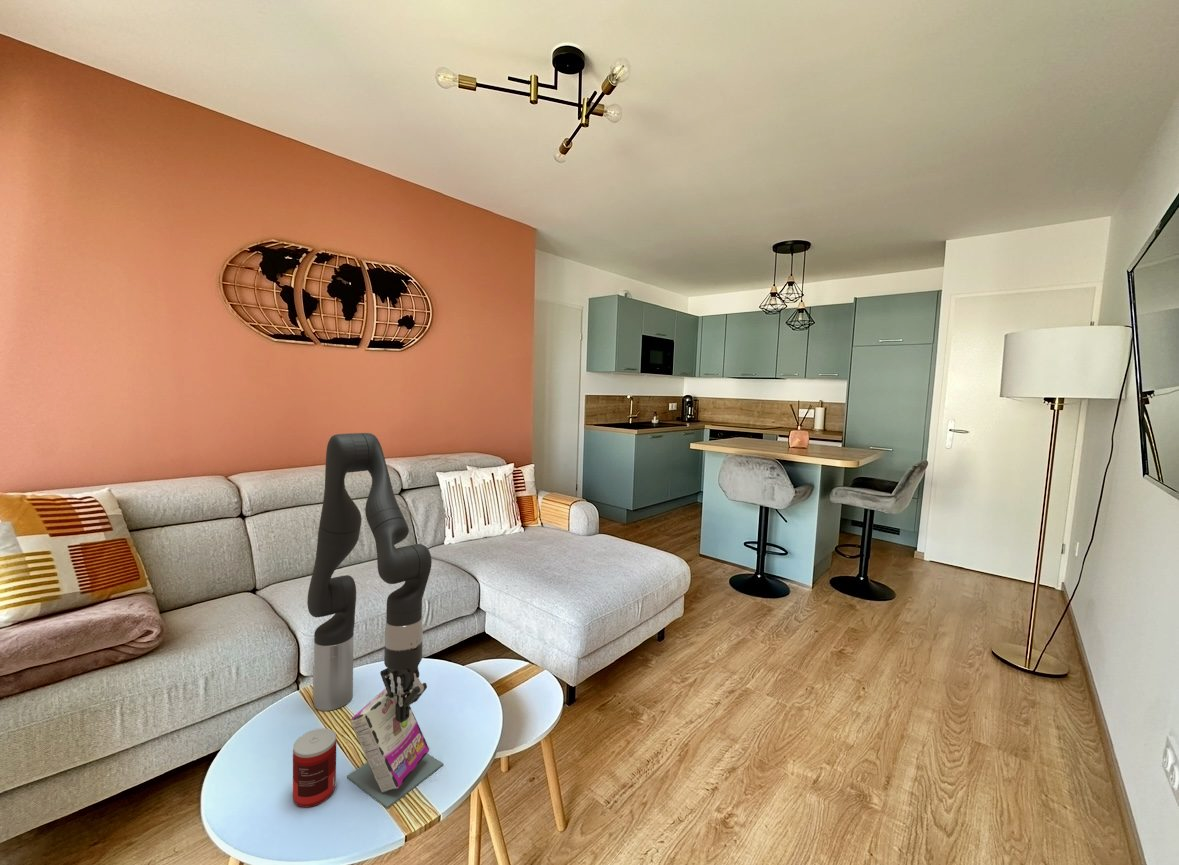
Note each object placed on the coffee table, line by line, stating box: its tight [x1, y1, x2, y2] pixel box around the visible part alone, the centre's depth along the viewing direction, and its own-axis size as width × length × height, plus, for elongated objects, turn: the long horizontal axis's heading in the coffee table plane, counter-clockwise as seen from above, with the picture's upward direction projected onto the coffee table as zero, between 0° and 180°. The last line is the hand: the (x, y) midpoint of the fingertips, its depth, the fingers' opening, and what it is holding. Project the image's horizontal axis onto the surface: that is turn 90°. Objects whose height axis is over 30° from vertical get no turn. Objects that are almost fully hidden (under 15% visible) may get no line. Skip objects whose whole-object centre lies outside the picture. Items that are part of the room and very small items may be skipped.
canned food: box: [292, 727, 337, 808], centre depth 96 cm, size 8×8×11 cm
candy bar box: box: [349, 688, 430, 793], centre depth 101 cm, size 11×5×16 cm, turn 165°
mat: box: [346, 752, 444, 809], centre depth 103 cm, size 14×14×1 cm
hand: (402, 719), depth 101 cm, fingers closed
